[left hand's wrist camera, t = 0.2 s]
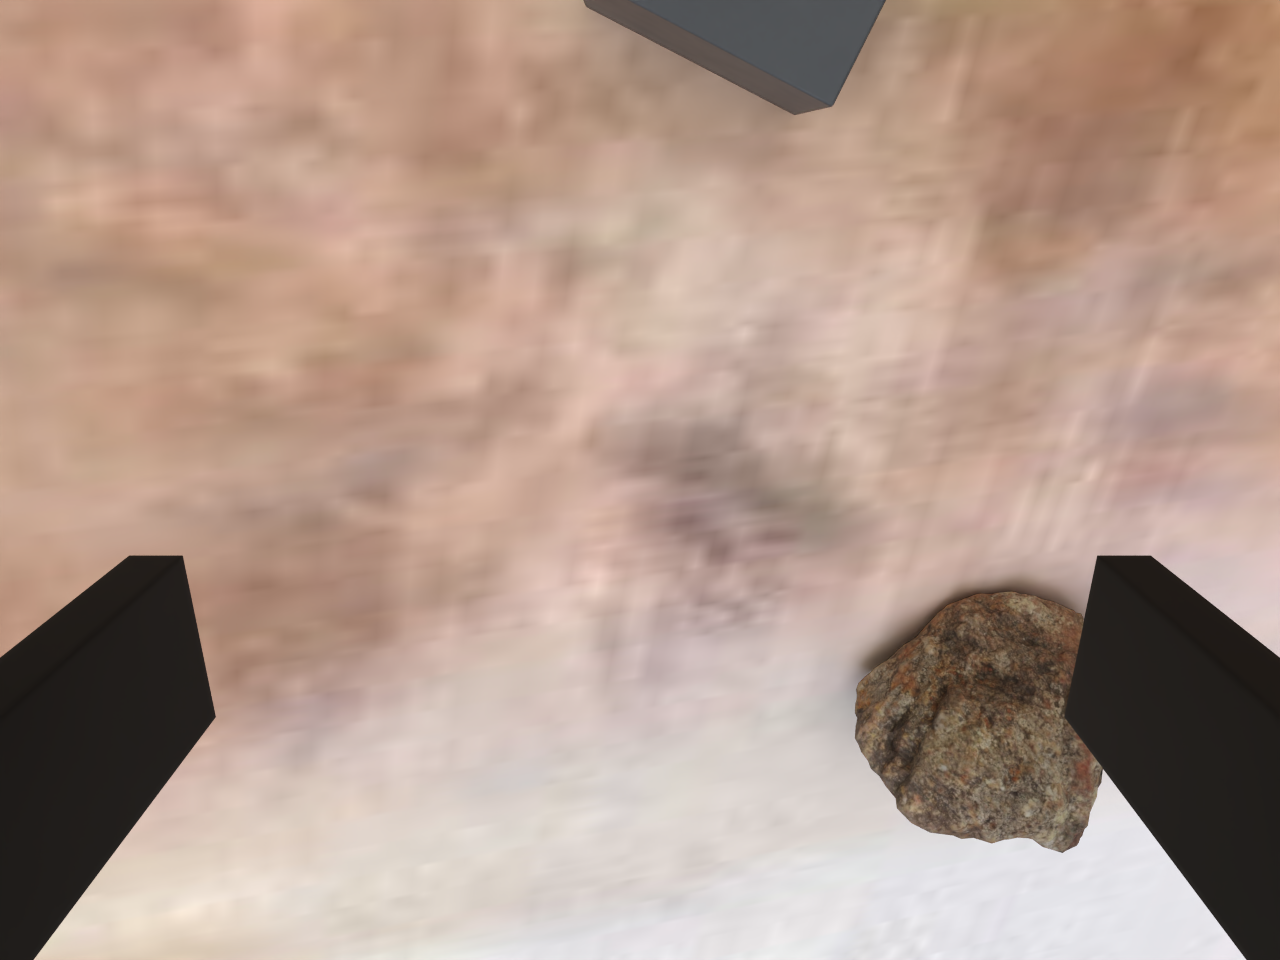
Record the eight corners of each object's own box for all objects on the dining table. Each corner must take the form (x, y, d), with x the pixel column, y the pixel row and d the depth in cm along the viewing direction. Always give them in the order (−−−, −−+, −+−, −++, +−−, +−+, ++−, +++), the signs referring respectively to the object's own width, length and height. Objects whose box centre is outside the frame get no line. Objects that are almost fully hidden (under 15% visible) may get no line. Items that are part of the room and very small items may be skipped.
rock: (1057, 772, 48) (1155, 625, 45) (1153, 901, 40) (1281, 733, 37) (823, 710, 45) (909, 547, 42) (877, 834, 37) (988, 646, 34)
